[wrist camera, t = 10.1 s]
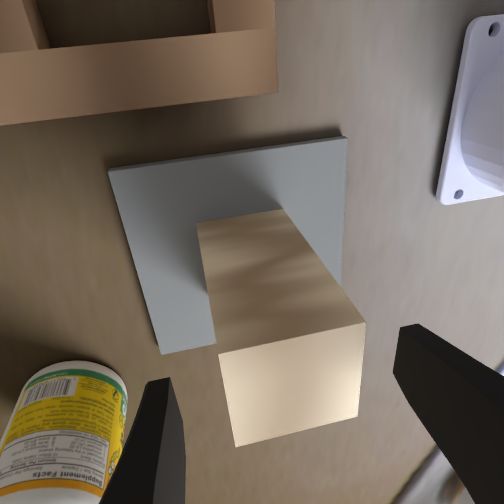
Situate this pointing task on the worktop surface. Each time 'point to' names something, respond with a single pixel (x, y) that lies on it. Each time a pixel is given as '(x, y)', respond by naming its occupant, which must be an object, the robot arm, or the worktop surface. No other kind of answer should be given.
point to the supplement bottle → (63, 436)
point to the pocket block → (134, 65)
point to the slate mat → (220, 207)
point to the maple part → (279, 328)
